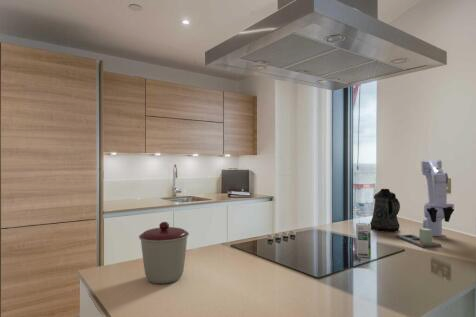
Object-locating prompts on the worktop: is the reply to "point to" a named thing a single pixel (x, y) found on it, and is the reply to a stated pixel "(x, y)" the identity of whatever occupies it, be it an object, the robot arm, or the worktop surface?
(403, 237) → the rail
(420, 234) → the peg
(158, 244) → the canister
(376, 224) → the beer stein
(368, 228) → the syrup box
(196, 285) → the worktop surface
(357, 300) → the worktop surface
